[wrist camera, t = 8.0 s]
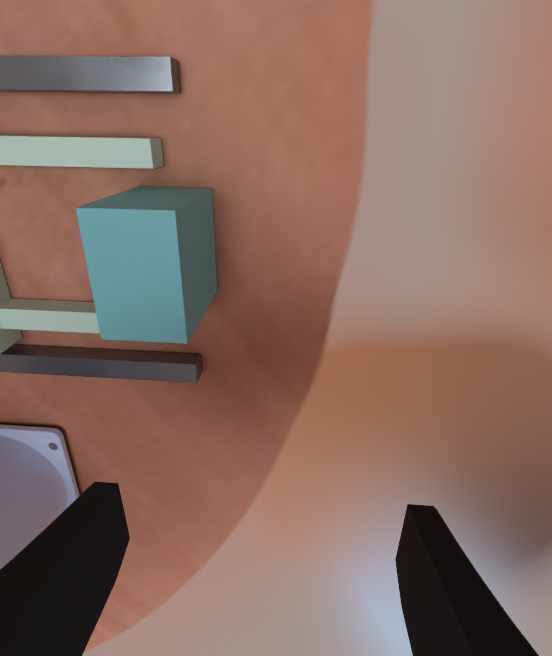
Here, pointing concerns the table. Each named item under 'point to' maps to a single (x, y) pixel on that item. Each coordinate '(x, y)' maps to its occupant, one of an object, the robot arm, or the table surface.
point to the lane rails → (99, 78)
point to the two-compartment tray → (123, 249)
